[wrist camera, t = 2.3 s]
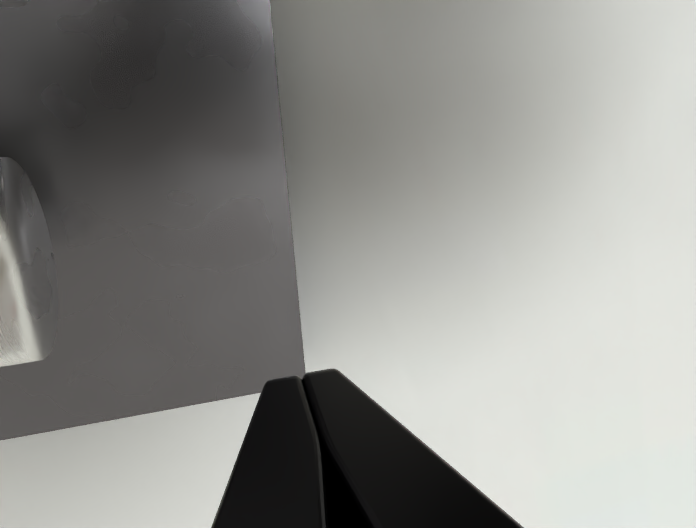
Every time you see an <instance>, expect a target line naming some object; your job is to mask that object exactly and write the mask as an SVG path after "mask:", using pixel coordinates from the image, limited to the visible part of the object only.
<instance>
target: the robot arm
mask: <svg viewBox="0 0 696 528" xmlns="http://www.w3.org/2000/svg"><path fill="white" fill-rule="evenodd" d="M211 528H524V527H522V526H521V525H520V524H519V523H518V522H516V521H515V520H514V519H513V518H512V517H511V516H509V515H508V514H507V513H506V512H505V511H504V510H502V509H501V508H500V507H499V506H498V505H496V504H495V503H494V502H493V501H492V500H491V499H489V498H488V497H487V496H486V495H485V494H483V493H482V492H481V491H480V490H479V489H478V488H476V487H475V486H474V485H473V484H472V483H471V482H469V481H468V480H467V479H466V478H465V477H463V476H462V475H461V474H460V473H459V472H458V471H456V470H455V469H454V468H453V467H452V466H450V465H449V464H448V463H447V462H446V461H445V460H443V459H442V458H441V457H440V456H439V455H437V454H436V453H435V452H434V451H433V450H432V449H430V448H429V447H428V446H427V445H426V444H425V443H423V442H422V441H421V440H420V439H419V438H417V437H416V436H415V435H414V434H413V433H412V432H410V431H409V430H408V429H407V428H406V427H404V426H403V425H402V424H401V423H400V422H399V421H397V420H396V419H395V418H394V417H393V416H392V415H390V414H389V413H388V412H387V411H386V410H384V409H383V408H382V407H381V406H380V405H379V404H377V403H376V402H375V401H374V400H373V399H371V398H370V397H369V396H368V395H367V394H366V393H364V392H363V391H362V390H361V389H360V388H359V387H357V386H356V385H355V384H354V383H353V382H351V381H350V380H349V379H348V378H347V377H346V376H344V375H343V374H342V373H341V372H340V371H338V370H336V369H326V370H321V371H315V372H310V373H306V374H304V375H303V378H302V379H301V378H300V377H299V376H297V375H293V376H287V377H282V378H276V379H271V380H268V381H267V382H266V383H265V385H264V387H263V389H262V392H261V395H260V397H259V400H258V403H257V405H256V408H255V411H254V414H253V416H252V419H251V422H250V424H249V427H248V430H247V432H246V435H245V438H244V441H243V443H242V446H241V449H240V451H239V454H238V457H237V459H236V462H235V465H234V468H233V470H232V473H231V476H230V478H229V481H228V484H227V486H226V489H225V492H224V495H223V497H222V500H221V503H220V505H219V508H218V511H217V513H216V516H215V519H214V522H213V524H212V527H211Z"/></svg>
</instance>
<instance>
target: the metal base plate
mask: <svg viewBox="0 0 696 528" xmlns="http://www.w3.org/2000/svg"><path fill="white" fill-rule="evenodd" d="M0 157H9V158H12V159H13V160H15V161H16V162H17V163H18V164H19V165H20V166H21V167H22V169H23V170H24V171H25V173H26V175H27V176H28V178H29V180H30V181H31V183H32V186H33V188H34V190H35V192H36V194H37V197H38V199H39V202H40V205H41V207H42V210H43V214H44V217H45V220H46V224H47V227H48V231H49V235H50V239H51V244H52V249H53V255H54V261H55V268H56V276H57V286H58V323H57V331H56V337H55V341H54V344H53V347H52V350H51V352H50V354H49V355H48V356H47V357H46V358H45V359H43V360H40V361H34V362H28V363H22V364H15V365H9V366H3V367H0V440H5V439H11V438H16V437H22V436H27V435H32V434H38V433H43V432H49V431H54V430H60V429H65V428H71V427H76V426H81V425H87V424H92V423H98V422H103V421H109V420H114V419H119V418H125V417H130V416H136V415H141V414H147V413H152V412H157V411H163V410H168V409H174V408H179V407H185V406H190V405H195V404H201V403H206V402H212V401H217V400H223V399H228V398H234V397H239V396H244V395H250V394H255V393H261V392H262V389H263V387H264V385H265V383H266V382H267V381H268V380H271V379H276V378H282V377H287V376H293V375H297V376H299V377H300V378H301V379H302V378H303V375H304V374H305V364H304V353H303V343H302V332H301V322H300V311H299V301H298V290H297V280H296V269H295V259H294V248H293V238H292V227H291V217H290V206H289V196H288V185H287V175H286V164H285V154H284V143H283V133H282V122H281V111H280V101H279V90H278V80H277V69H276V59H275V48H274V38H273V27H272V17H271V6H270V0H0Z"/></svg>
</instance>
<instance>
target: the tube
mask: <svg viewBox="0 0 696 528" xmlns="http://www.w3.org/2000/svg"><path fill="white" fill-rule="evenodd" d="M57 323H58V286H57V276H56V268H55V261H54V255H53V249H52V244H51V239H50V235H49V231H48V227H47V224H46V220H45V217H44V214H43V210H42V207H41V205H40V202H39V199H38V197H37V194H36V192H35V190H34V188H33V186H32V183H31V181H30V180H29V178H28V176H27V175H26V173H25V171H24V170H23V169H22V167H21V166H20V165H19V164H18V163H17V162H16V161H15V160H13V159H12V158H9V157H0V367H3V366H9V365H15V364H22V363H28V362H34V361H40V360H43V359H45V358H46V357H47V356H48V355H49V354H50V352H51V350H52V347H53V344H54V341H55V337H56V331H57Z"/></svg>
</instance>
